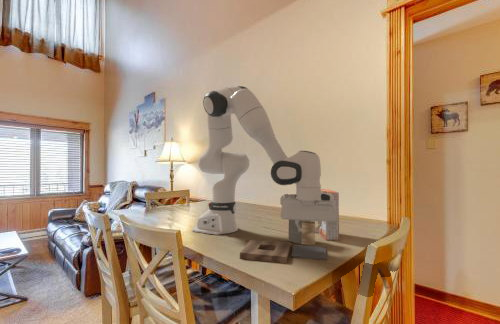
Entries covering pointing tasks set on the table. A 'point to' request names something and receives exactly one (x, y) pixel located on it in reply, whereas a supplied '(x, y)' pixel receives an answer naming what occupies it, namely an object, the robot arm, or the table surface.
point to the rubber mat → (309, 252)
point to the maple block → (308, 232)
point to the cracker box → (331, 228)
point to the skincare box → (295, 232)
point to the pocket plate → (266, 251)
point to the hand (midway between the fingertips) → (308, 232)
